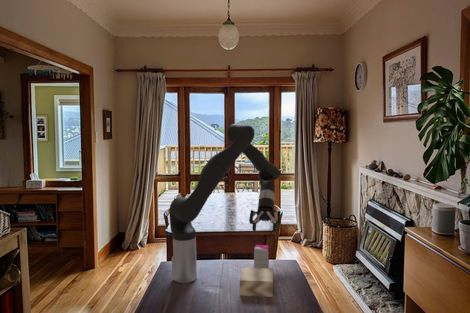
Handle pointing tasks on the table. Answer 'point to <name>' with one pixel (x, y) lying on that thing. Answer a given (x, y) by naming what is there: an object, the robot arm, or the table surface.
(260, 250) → the supplement box
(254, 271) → the birch block
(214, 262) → the table surface
